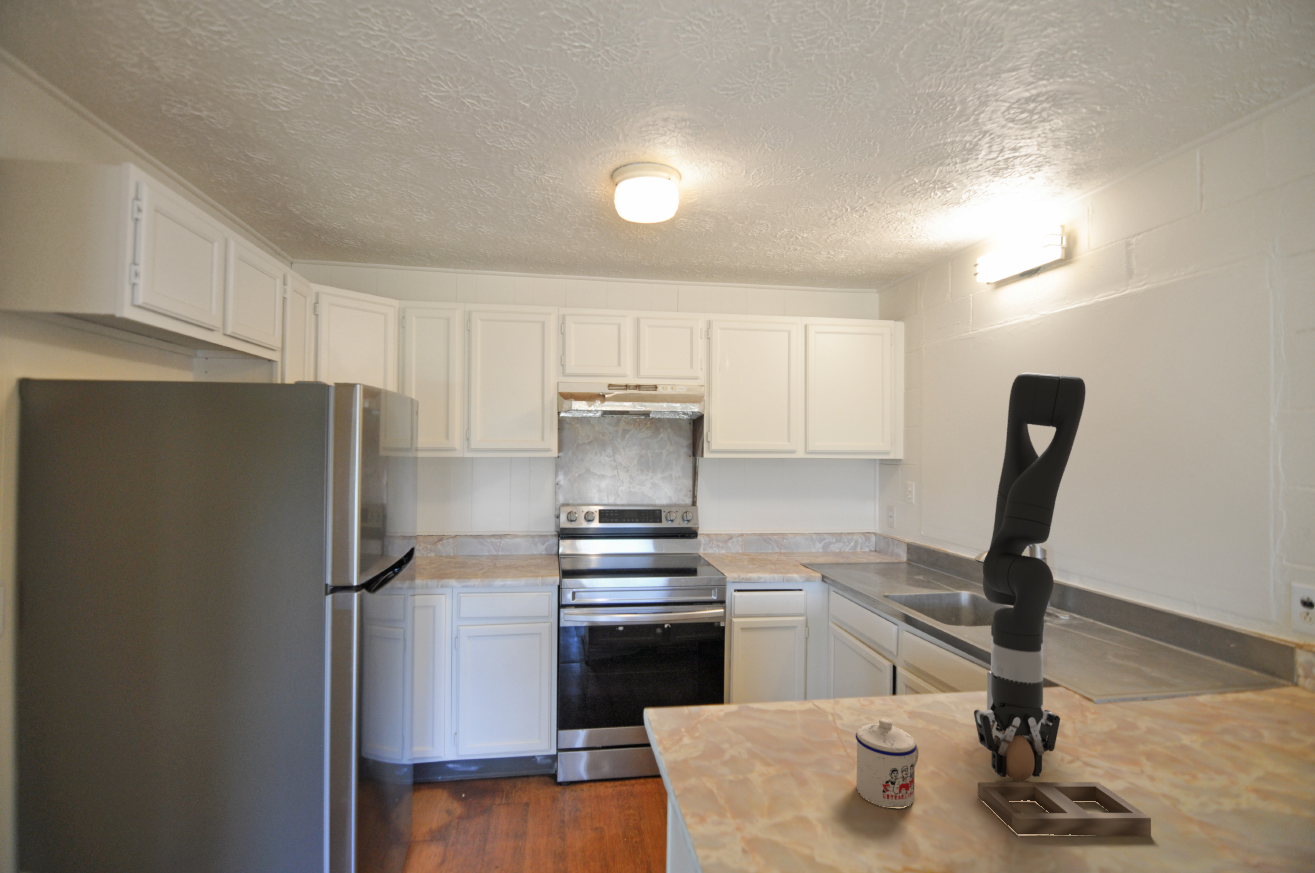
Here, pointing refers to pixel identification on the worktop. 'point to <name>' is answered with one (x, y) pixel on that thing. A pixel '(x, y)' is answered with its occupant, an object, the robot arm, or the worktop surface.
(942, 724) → the worktop surface
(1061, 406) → the robot arm
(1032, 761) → the egg
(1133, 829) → the egg rail
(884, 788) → the teacup with lid
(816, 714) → the worktop surface
